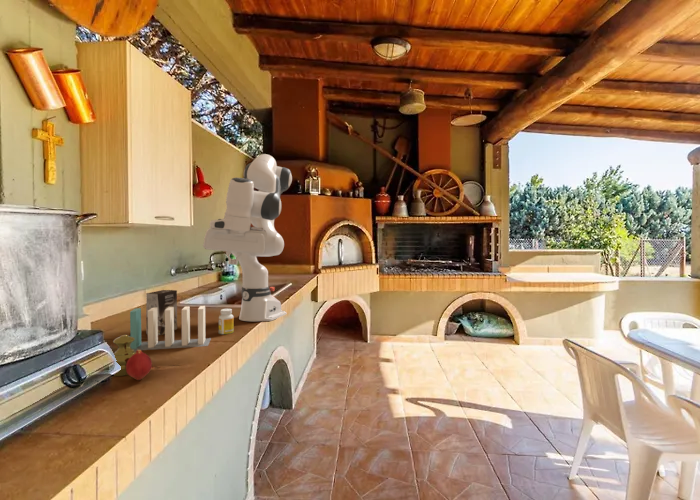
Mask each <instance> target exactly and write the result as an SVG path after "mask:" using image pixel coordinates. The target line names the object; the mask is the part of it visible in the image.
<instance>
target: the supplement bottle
mask: <svg viewBox="0 0 700 500" xmlns="http://www.w3.org/2000/svg"><path fill="white" fill-rule="evenodd" d="M232 313H233V309H232V308H222V309H220V314H219V315H218V334H219V335H230V334H233V333H234V332H235V331H234V325H235V324H234V321H235V319H234V317H235V316H234V315H233V314H232Z"/></svg>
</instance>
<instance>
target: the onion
mask: <svg viewBox="0 0 700 500" xmlns="http://www.w3.org/2000/svg"><path fill="white" fill-rule="evenodd" d="M152 362H153V361H152V359H151V357H150V356H149V355H148V354H147V353H145V352H143V350H137V351H136V353H135V354H134V355H132V356H131V357H130V358H129V360H128V361H127V364H126V372H127V373H128V375H127V376H130V377H131V378H133V379H135V380H136V381H141V380H142V379H144V378H145V377H146V376H147V375H148V374H150V372H151V370H152V366H153V363H152Z"/></svg>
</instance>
